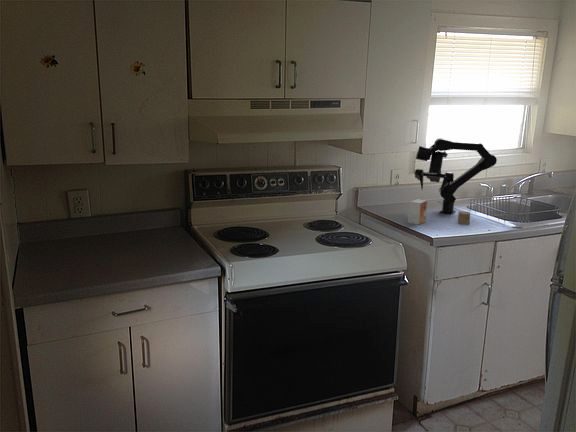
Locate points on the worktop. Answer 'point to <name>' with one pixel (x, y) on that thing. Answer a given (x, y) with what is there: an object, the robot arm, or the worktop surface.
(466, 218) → the walnut block
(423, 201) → the small box
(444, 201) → the robot arm
